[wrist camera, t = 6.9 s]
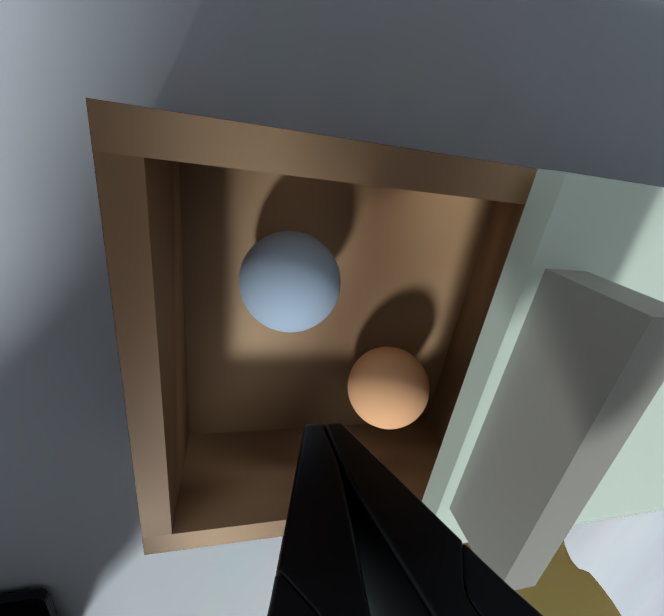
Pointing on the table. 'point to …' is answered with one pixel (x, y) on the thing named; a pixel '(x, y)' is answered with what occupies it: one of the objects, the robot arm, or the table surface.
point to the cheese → (567, 590)
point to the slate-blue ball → (289, 281)
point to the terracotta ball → (388, 387)
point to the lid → (562, 379)
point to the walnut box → (268, 344)
